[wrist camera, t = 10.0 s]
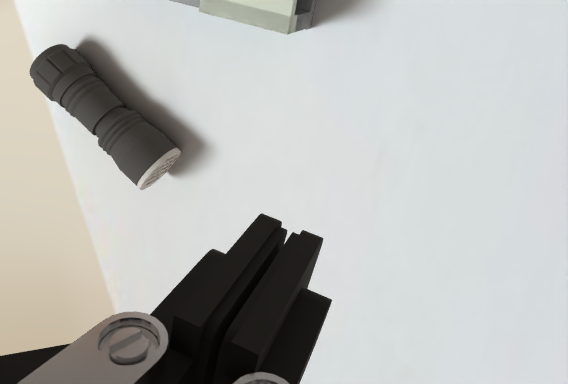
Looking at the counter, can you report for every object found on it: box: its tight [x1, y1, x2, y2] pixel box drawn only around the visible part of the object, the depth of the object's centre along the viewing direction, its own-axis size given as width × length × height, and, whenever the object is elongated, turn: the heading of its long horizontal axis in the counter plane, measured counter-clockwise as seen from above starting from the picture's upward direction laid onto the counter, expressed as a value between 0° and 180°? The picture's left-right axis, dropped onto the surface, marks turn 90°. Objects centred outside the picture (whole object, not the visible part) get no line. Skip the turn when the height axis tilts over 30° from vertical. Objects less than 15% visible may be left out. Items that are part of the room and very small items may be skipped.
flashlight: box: [30, 44, 181, 190], centre depth 44 cm, size 15×5×5 cm, turn 50°
